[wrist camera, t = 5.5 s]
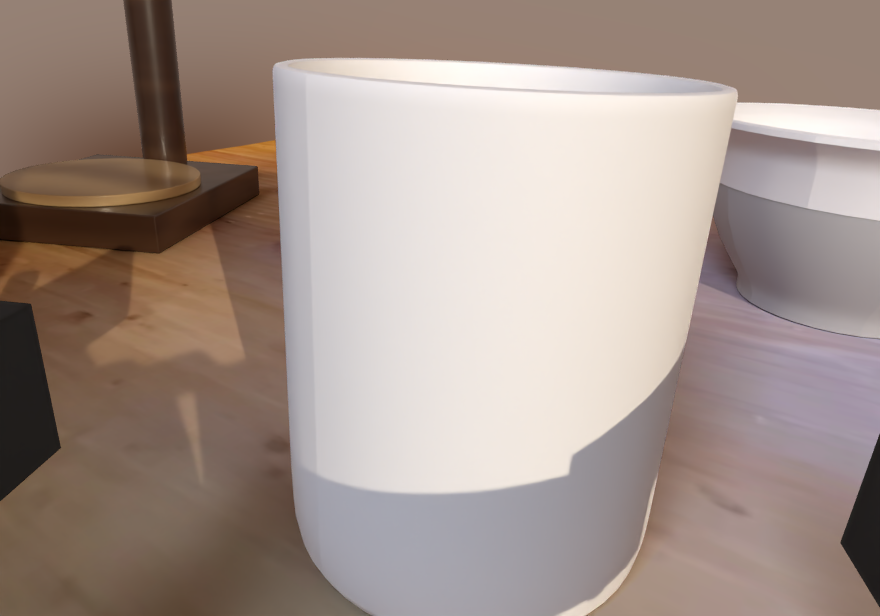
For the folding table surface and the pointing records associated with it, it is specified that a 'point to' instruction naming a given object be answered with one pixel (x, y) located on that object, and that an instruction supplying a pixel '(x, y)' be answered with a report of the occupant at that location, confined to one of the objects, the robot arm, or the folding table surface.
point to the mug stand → (130, 167)
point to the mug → (486, 320)
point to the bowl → (805, 213)
